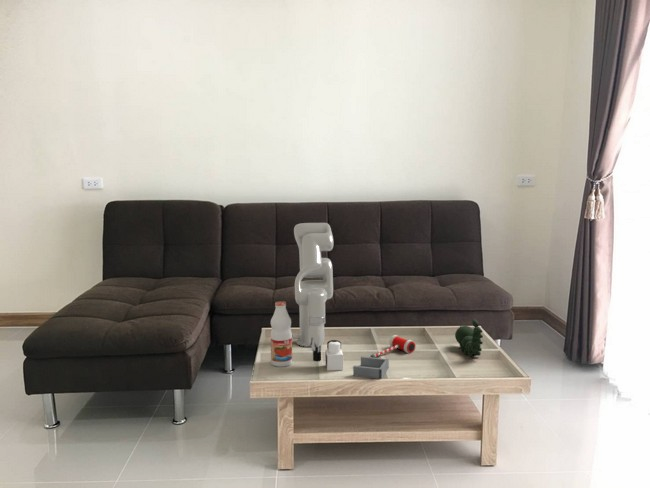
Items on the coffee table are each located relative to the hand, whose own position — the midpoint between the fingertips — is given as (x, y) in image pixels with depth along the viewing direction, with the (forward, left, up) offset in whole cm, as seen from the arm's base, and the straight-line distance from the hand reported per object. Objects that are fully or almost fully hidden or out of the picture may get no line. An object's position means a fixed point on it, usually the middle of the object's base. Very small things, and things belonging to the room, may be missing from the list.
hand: (317, 360), depth 257 cm
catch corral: (+24, +1, -3) cm, 24 cm away
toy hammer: (+28, +28, -3) cm, 40 cm away
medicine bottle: (+8, +1, -3) cm, 8 cm away
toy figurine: (+62, +40, -3) cm, 73 cm away
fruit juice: (-16, -1, -3) cm, 17 cm away
